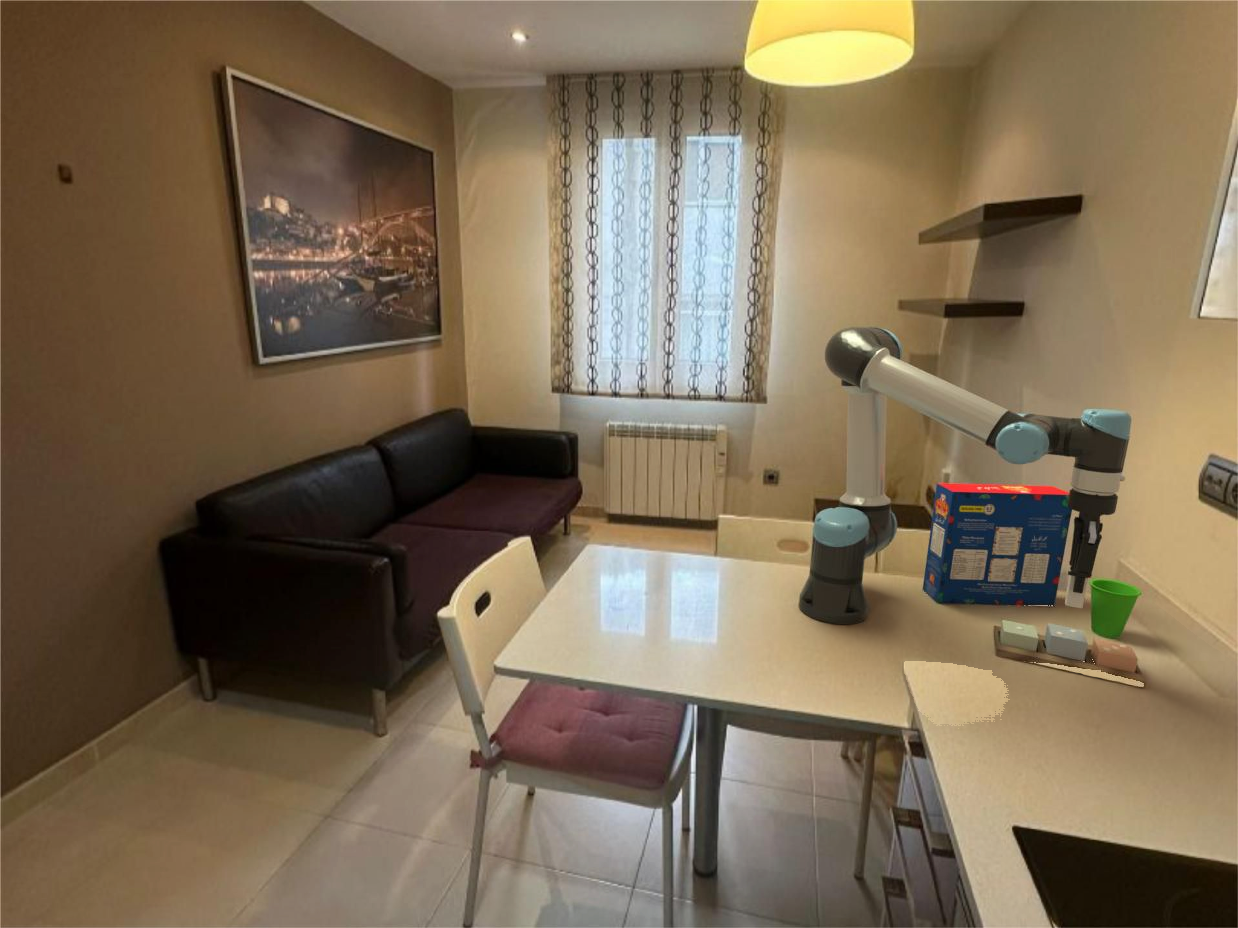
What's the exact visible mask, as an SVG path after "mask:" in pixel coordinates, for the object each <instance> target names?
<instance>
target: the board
mask: <svg viewBox="0 0 1238 928" xmlns="http://www.w3.org/2000/svg"><path fill="white" fill-rule="evenodd" d="M1000 631H1001V626H1000V625H996V624H994V625H993V640H994V650H995V656H996V657H1000V658H1005V659H1009V660H1013V661H1018V662H1019V661H1020V662H1023V661H1025V662H1024V663H1027V662H1033V663H1034V662H1036V663H1050V664H1057V665H1064V666H1068V667H1077V668H1082V669H1091V670H1101V672H1106V673H1108V674H1112V675H1115V676H1121V677H1124V678H1128V679H1133V680H1136V681H1140V682H1142V683H1144V684H1145V685H1146V679H1145V678H1144V676H1143V673H1142V672H1141V669H1140V668H1139V666H1138V664H1137V665H1136V670H1135V673H1132V672H1128V671H1123V670H1118V669H1114V668H1109V667H1104V666H1100V665H1095V664H1094V662H1093V660H1092V657H1091V655H1090V654H1091V649H1092V644H1089V643H1088V644H1087V649H1086V654H1085V659H1084V661H1085V662H1083V661H1080V660H1075V659H1071V658H1066V657H1061V656H1057V655H1052V654H1048V653H1047V652H1046V650H1045V649H1046V645H1045V635H1046V634H1040V633H1037V635H1038V643H1037V649H1036V652H1034V651H1030V650H1025V649H1020V648H1016V647H1011V646H1006V645H1002V644H1000V638H999V637H1000Z"/></svg>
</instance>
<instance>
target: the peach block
mask: <svg viewBox="0 0 1238 928" xmlns="http://www.w3.org/2000/svg"><path fill="white" fill-rule="evenodd" d="M1091 645H1092V649H1091V654H1090V655H1091V657H1092V659H1093V661H1094V663H1095V665H1100V666H1104V667H1109V668H1114V669H1118V670H1123V671H1128V672H1132V673H1135V670H1136V665H1137V666H1138V659H1139V658H1138V657H1137V655H1136V653H1135V651H1134V649H1133V647H1132V645H1131V644H1125V643H1122V642H1121V643H1120V642H1114V641H1110V640H1105V639H1102V638H1101V639H1100V638H1095V637H1093V640H1092V644H1091Z"/></svg>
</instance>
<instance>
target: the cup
mask: <svg viewBox="0 0 1238 928" xmlns="http://www.w3.org/2000/svg"><path fill="white" fill-rule="evenodd" d="M1088 584H1090V616H1091V617H1090V619H1091V620H1090V621H1091V623H1090V627H1091V631H1092V632H1093V633H1094V634H1096V635H1098V636H1100V637H1104V638H1108V639H1119V638H1120V637H1121V635H1122V634H1123V631H1124V629H1125V627H1126V625H1127V622H1128V620H1129V617H1130V616H1131V613H1132V611H1133V609H1134V606H1135V604H1136V602H1137V599H1138V598H1139V596H1141V595H1142V591H1141V590H1140V589H1139V588H1138V587H1136V586H1134V585H1131V583H1130V584H1129V583H1126V582H1123V581H1119V580H1115V579H1109V578H1093V579H1090V580H1089V582H1088Z"/></svg>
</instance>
